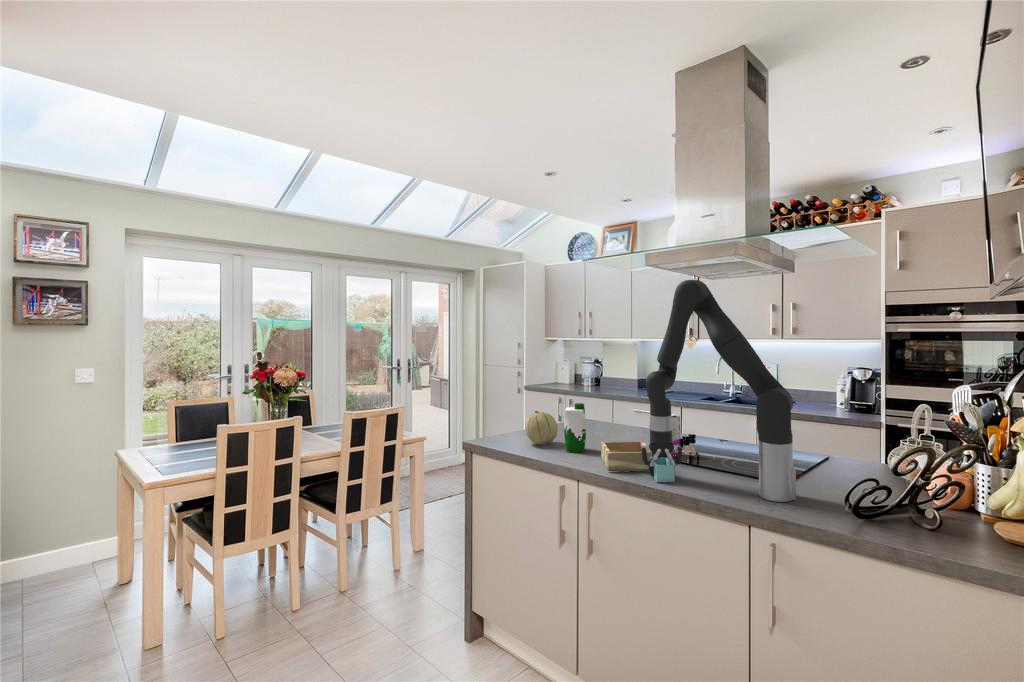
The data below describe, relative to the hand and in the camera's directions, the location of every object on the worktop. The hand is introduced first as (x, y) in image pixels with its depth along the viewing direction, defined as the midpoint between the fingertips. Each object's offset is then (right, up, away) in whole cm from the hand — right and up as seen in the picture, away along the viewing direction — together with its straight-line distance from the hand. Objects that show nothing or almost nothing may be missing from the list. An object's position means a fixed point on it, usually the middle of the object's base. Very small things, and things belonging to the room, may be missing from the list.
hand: (661, 476), depth 179 cm
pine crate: (-8, 0, +17) cm, 19 cm away
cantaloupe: (-38, 0, +54) cm, 66 cm away
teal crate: (0, -1, 0) cm, 1 cm away
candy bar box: (+10, 0, +29) cm, 30 cm away
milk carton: (-25, 0, +42) cm, 49 cm away
